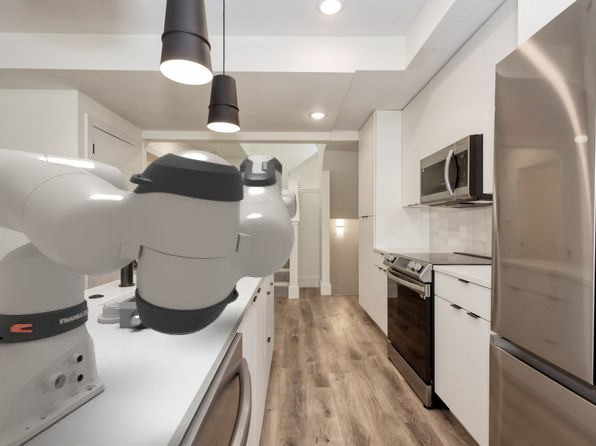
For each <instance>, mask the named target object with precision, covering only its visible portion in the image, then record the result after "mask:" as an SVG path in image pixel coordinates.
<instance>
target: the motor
mask: <svg viewBox="0 0 596 446" xmlns="http://www.w3.org/2000/svg"><path fill="white" fill-rule="evenodd" d="M119 302H120V301H119ZM119 317H120V322H119V328H120V329H124V328H125V329H126V328H127V329H129V328H132V329H134V328H136V329H142V328H145V329H146V328H149V327H147V326H146V325H144V324H143V323H142V322H141V320H140V318H139V315H138V312H137V307H136V300H135V295H133V296H132V297H129V298H127V299H125V300H123V302H120V303H119Z"/></svg>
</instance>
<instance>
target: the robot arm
mask: <svg viewBox="0 0 596 446" xmlns="http://www.w3.org/2000/svg"><path fill="white" fill-rule="evenodd" d="M282 176H283V164H282V163H281V162H280V160H278V159H277V158H276V157H275V156H273V155H269V154H262V153H261V154H254V155H250V156H247V157H246V158H244V159H243V160H242V162H241V163H240V165H239V169H238V167H237V166H236V165H233V164H231V163H230V162H228V161H227V160H226V159H225V158H224V157H223V158H222V157H221V156H219V155H217V154H215V153H212V152H210V151H209V152H208V151H205V150H199V149H197V150H196V149H192V150H191V149H189V150H188V149H187V150H182V151H178V152H175V153H173V152H168V153H166V154H164V155H162V156H160V157H158V158H157V159H155V160H153V161H152V162H151V163H150V164H149V165H148V166H147V167H146V168H145V169H144V170H143V172H142V173H133V174H132V175H131V177H130V178H129V182H130V183H131V184H135V185H137V186H136V187H135V188H134V190H133V191H130V190H129V186H128V182H127V180H126V177H125V176H124V175H123V173H122V171H120V169H119V168H118V167H116V166H114V165H111V164H107V163H105V162H101V161H97V160H95V159H90V158H84V157H75V156H66V155H60V154H59V155H57V154H49V153H43V152H42V153H41V152H32V151H26V150H16V149H9V148H8V149H7V148H0V228H3V229H7V230H11V231H14V232H15V231H16V232H19V233H20V234H21V233H22V234H24V235H25V236H26V238H27V239H28V240H29V241H28V242H27V243H25V244H23V245H21V246H17V247H16V248H14V249H12V250H11V251H9V252H8V253H6V254H5V255H4V256H3V257H2V258H1V260H0V446H21V445H23V444H24V443H25V442H27V441H29V440H30V439H31V438H33V437H34V436H37V434H39V433H41V432H42V431H44V430H45V429H47V428H48V427H50V426H51V425H53V424H54V423H56V422H57V421H59V420H60V419H62V418H63V417H65V416H67V415H68V414H69V413H71V412H73V411H74V410H76V409H77V408H79V407H80V406H81V405H83V404H84V403H86V402H88V401H89V400H90V399H91V400H92V398H94V397H95V396H97V395H98V394H100V393H101V392H102V391H104V390H105V383H104V381H103V380H102V379H100V378H99V376H98V367H97V359H96V352H95V344H94V340H93V338H92V337H91V335H90V332H89V331H88V329H87V325H86V323H87V321H88V320H89V316H88V315H89V307H88V301H87V299H85V277H86V276H104V275H109V274H112V273H115V272H118V271H120V270H121V269H123V268H126V267H127V266H128V265H129V264H131V263H132V262H133V261H137V268H138V287H137V288H135V289H134V296H135V300H136V307H137V312H138V315H139V318H140V320H141V322H142V323H143V324H144V325H146V326H147V327H149V328H150V329H152V330H153V331H156V332H158V333H160V334H164V335H168V336H170V335H171V336H185V335H186V336H187V335H192V334H196V333H198V332H200V331H202V330H204V329H205V328H207V327H209V326H210V325H211V324H213V323H214V322H216V321H217V320H218V319H219V317H220V316H221V315H222V313H223V312H224V311H225V310H226V307H228V305H229V304H231V303H234V302H235V301H236V300H237V299H238V297H239V295H240V294H239V292H238V290H237V283H238V282H239V281H240V280H241V279H243V278H247V277H248V278H257V279H258V278H261V279H262V278H266V277H270V276H271V275H274V274H275V273H277V272H279V271H280V270H281V269H282V268H283V267H284V266H285V265H286V263H287V262H288V260H289V258H290V257H291V254H292V252H293V248H294V244H295V243H294V242H295V230H294V229H295V228H294V225H293V221H292V219H294V218H295V217H296V215H297V196H296V194H295V192H294V190H292V189H286V188H283V177H282ZM85 275H86V276H85Z"/></svg>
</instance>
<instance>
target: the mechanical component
mask: <svg viewBox="0 0 596 446" xmlns="http://www.w3.org/2000/svg"><path fill="white" fill-rule="evenodd" d="M123 301H124V300H123ZM123 301H113V302H109V303H106V304H104V305H103V306H102V313H101V314H99V315H98V316H97V322H98V323H100V324H116V323H119V324H120V317H119V303H120V302H123Z"/></svg>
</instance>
